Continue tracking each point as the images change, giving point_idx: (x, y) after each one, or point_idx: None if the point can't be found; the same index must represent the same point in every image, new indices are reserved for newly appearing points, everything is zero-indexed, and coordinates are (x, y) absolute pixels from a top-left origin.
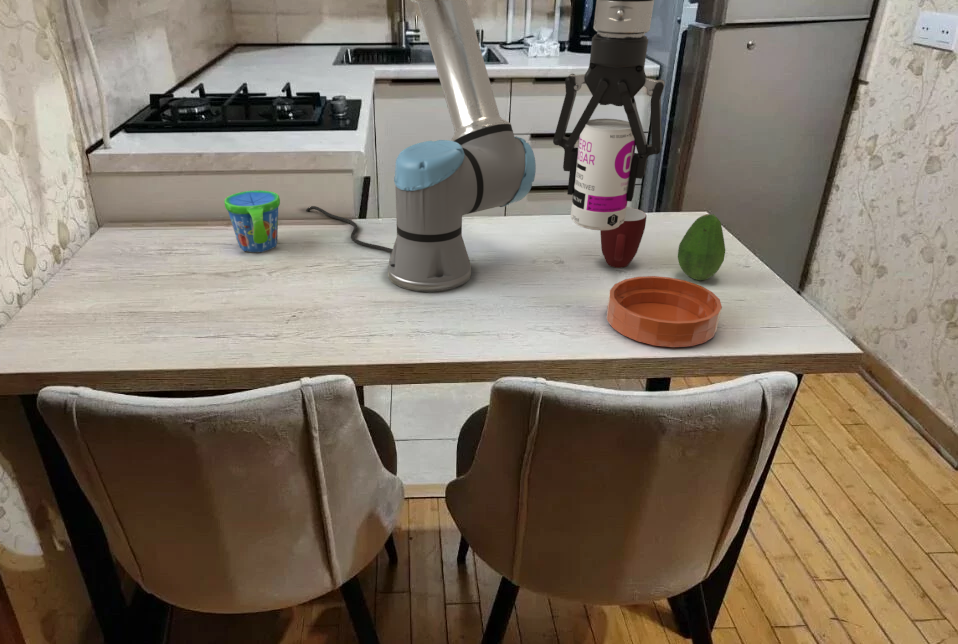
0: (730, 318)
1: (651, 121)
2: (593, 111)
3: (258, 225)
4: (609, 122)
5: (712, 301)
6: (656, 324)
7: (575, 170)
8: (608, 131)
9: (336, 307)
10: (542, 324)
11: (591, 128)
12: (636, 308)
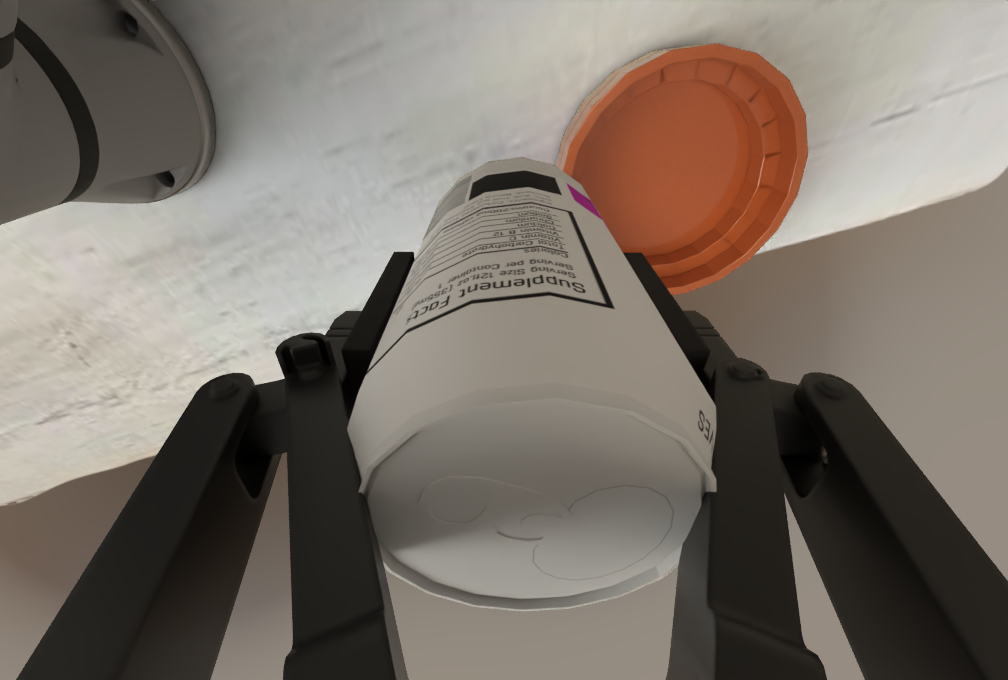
0: (822, 96)
1: (841, 618)
2: (404, 664)
3: None
4: (527, 462)
5: (790, 145)
6: None
7: None
8: (542, 599)
9: (95, 301)
10: None
11: (438, 586)
12: (615, 129)
